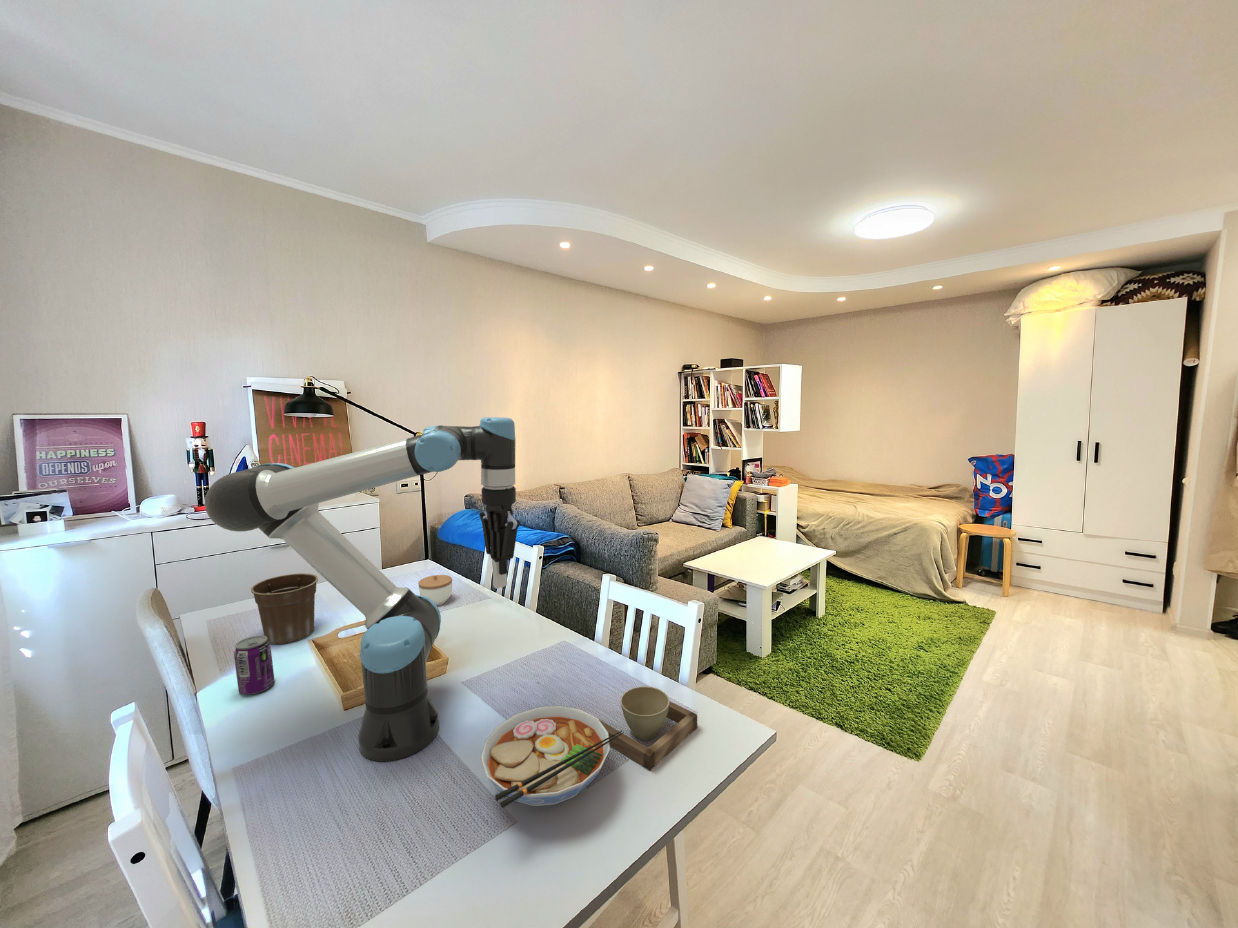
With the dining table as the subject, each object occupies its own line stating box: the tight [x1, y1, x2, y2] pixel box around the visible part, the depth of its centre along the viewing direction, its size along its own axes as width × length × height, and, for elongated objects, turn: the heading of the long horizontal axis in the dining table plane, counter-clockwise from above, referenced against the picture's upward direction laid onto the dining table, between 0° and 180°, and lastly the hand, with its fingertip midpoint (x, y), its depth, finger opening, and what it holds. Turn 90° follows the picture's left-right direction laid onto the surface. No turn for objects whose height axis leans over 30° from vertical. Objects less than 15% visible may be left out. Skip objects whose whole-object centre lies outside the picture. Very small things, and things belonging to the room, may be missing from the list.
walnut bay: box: [599, 700, 698, 771], centre depth 104 cm, size 16×14×3 cm
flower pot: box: [620, 685, 670, 741], centre depth 104 cm, size 10×10×7 cm
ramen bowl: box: [480, 705, 625, 809], centre depth 90 cm, size 25×23×8 cm
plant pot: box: [250, 572, 319, 645], centre depth 147 cm, size 16×16×16 cm
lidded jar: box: [417, 574, 453, 606], centre depth 170 cm, size 11×11×9 cm
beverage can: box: [233, 635, 276, 695], centre depth 120 cm, size 7×7×12 cm
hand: (500, 586), depth 116 cm, fingers closed
